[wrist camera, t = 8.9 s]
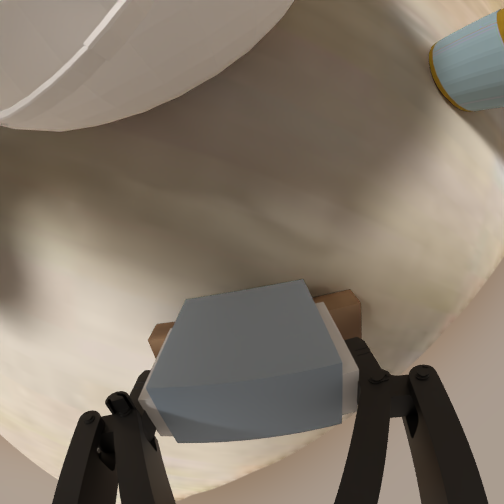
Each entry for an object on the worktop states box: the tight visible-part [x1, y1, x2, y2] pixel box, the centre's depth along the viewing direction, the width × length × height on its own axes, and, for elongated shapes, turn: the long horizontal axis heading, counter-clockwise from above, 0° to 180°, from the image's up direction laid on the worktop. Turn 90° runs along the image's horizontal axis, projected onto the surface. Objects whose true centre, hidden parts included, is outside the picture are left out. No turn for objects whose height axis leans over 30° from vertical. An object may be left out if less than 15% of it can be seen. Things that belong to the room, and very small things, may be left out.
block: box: [148, 289, 361, 358], centre depth 21 cm, size 4×16×2 cm, turn 101°
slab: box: [146, 279, 343, 443], centre depth 15 cm, size 4×8×9 cm, turn 101°
